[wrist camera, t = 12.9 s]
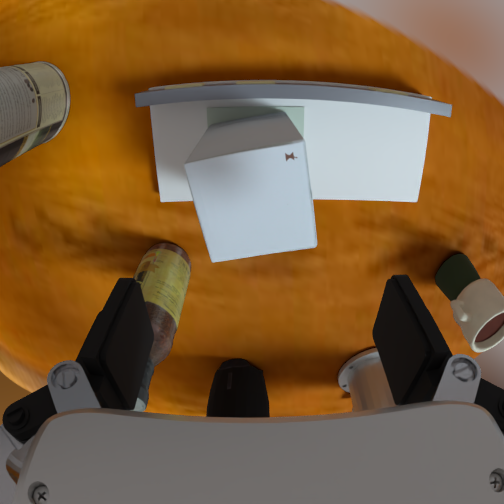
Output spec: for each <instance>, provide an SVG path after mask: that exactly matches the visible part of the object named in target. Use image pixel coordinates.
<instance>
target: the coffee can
mask: <svg viewBox="0 0 504 504" xmlns="http://www.w3.org/2000/svg"><path fill="white" fill-rule="evenodd" d="M69 108H70V91H69V86H68V83H67V80H66V79H65V76H64V75H63V73H62V72H61V71H60V70H59V69H58V68H57V67H56V66H55V65H53V64H51V63H49V62H34V63H28V64H20V65H13V66H5V67H0V167H1V166H2V165H4V164H6V163H7V162H9V161H11V160H13V159H14V158H16V157H18V156H20V155H21V154H23V153H25V152H27V151H29V150H31V149H33V148H34V147H36V146H38V145H40V144H42V143H46V142H48V141H50V140H51V139H53V138H54V137H55V136H56V135H57V134H58V133H59V132H60V130H61V129H62V127H63V126H64V124H65V122H66V119H67V117H68V113H69Z"/></svg>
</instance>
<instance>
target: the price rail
mask: <svg viewBox="0 0 504 504" xmlns="http://www.w3.org/2000/svg"><path fill="white" fill-rule="evenodd" d="M261 98H271V99H310V100H328V101H342V102H353V103H363V104H372V105H381V106H389V107H396V108H403V109H409V110H415V111H421V112H427V113H433V114H438V115H443V116H448V117H451V110H452V105H450V104H447V103H444V102H440V101H437V100H433V99H429V98H424V97H419V96H413V95H408V94H407V93H403V92H399V91H393V90H386V89H379V88H371V87H369V88H368V89H366V88H357V87H347V86H336V85H322V84H305V83H275V81H237V82H236V83H224V84H206V85H205V83H196V84H184V85H174V86H168V87H165V88H163V89H154V90H148V91H144V92H140V93H136V94H135V103H136V107H142V106H150V105H158V104H168V103H178V102H190V101H203V100H222V99H261Z"/></svg>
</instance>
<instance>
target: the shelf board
mask: <svg viewBox="0 0 504 504" xmlns="http://www.w3.org/2000/svg"><path fill="white" fill-rule="evenodd" d="M237 81H275V83H305V84H322V85H336V86H347V87H357V88H366V89H368V88H369V87H370V86H362V85H353V84H342V83H331V82H316V81H295V80H233V81H212V82H198V83H205V85H206V84H224V83H236V82H237ZM186 84H196V83H186ZM176 85H184V84H176ZM168 86H174V85H166V86H158V87H152V88H149V90H154V89H163V88H165V87H168ZM371 88H378V87H371ZM379 89H385V88H379ZM386 90H392V89H386ZM393 91H398V90H393ZM399 92H403V93H407V94H408V95H413V96H419V97H424V98H429V99H432V97H429V96H425V95H421V94H415V93H410V92H404V91H399ZM150 111H151V123H152V133H153V142H154V152H155V160H156V169H157V177H158V184H159V192H160V199H161V202H173V201H193V198H192V195H191V191H190V188H189V184H188V180H187V176H186V172H185V168H184V163H185V162H186V160H187V159H188V157H189V156H190V154H191V153H192V151H193V150H194V148H195V147H196V145H197V144H198V142H199V141H200V139H201V138H202V136H203V135H204V133H205V132H206V130H207V129H208V127H209V126H210V125H211V124H215V123H220V122H225V121H230V120H235V119H241V118H247V117H252V116H258V115H265V114H271V113H277V112H284V111H285V112H286V114H287V115H288V117H289V118H290V119H291V121H292V122H293V124H294V125H295V127H296V128H297V130H298V131H299V132H300V134H301V135H302V137H303V138H304V140H305V142H306V151H307V158H308V166H309V174H310V182H311V189H312V197H313V199H338V200H376V201H402V202H417V200H418V195H419V189H420V184H421V178H422V172H423V166H424V160H425V153H426V146H427V138H428V130H429V122H430V113H427V112H421V111H415V110H409V109H403V108H396V107H389V106H381V105H372V104H363V103H353V102H342V101H328V100H310V99H271V98H261V99H222V100H203V101H190V102H178V103H168V104H158V105H150Z"/></svg>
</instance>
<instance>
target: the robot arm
mask: <svg viewBox="0 0 504 504" xmlns="http://www.w3.org/2000/svg"><path fill="white" fill-rule="evenodd" d="M373 339H374V342H375V345H376V348H372V349H369V350H366V351H364V352H361V353H359V354H357V355H356V356H354V357H352V358H351V359H350V360H348V361H347V362H346V363H345V364H344V365H343V366H342V368H341V369H340V371H339V373H338V383H339V385H340V387H341V388H342V389H343V390H344V391H346V392H349V393H350V395H351V399H352V404H353V408H352V411H353V412H348V413H338V414H326V415H313V416H296V417H268V418H230V417H201V416H184V415H171V414H159V413H148V412H138V411H130V410H134V408H135V405H136V402H137V398H138V394H139V390H140V387H141V383H142V379H143V376H144V372H145V369H146V365H147V362H148V358H149V355H150V351H151V348H152V345H153V341H154V332H153V328H152V325H151V322H150V318H149V315H148V311H147V308H146V304H145V300H144V297H143V293H142V289H141V285H140V283H139V282H136V280H135V279H134V278H119V279H118V281H117V283H116V285H115V287H114V289H113V290H112V292H111V294H110V296H109V298H108V300H107V302H106V304H105V306H104V308H103V310H102V311H100V312H99V314H98V315H97V317H96V319H95V321H94V323H93V325H92V327H91V329H90V331H89V333H88V335H87V338H86V340H85V342H84V344H83V346H82V348H81V350H80V352H79V354H78V357H77V359H76V361H71V360H69V361H63V362H60V363H58V364H57V365H55V366H54V367H53V368H52V369H51V370H50V372H49V374H48V378H47V383H48V385H46V386H44V387H42V388H40V389H39V390H37V391H35V392H33V393H31V394H29V395H27V396H26V397H24V398H22V399H20V400H18V401H16V402H14V403H13V404H11V405H10V406H9V407H8V408H7V409H6V410H5V412H4V415H3V424H2V425H1V426H0V504H504V390H503V389H501V388H499V387H497V386H495V385H493V384H491V383H490V382H488V381H486V380H484V379H482V378H481V370H480V367H479V365H478V364H477V362H476V361H475V360H474V359H473V358H471V357H469V356H467V355H463V354H457V355H454V356H453V355H452V353H451V351H450V349H449V347H448V345H447V343H446V341H445V340H444V338H443V336H442V334H441V332H440V330H439V328H438V326H437V325H436V323H435V321H434V319H433V317H432V316H431V314H430V312H429V310H428V309H427V307H426V306H425V304H424V302H423V300H422V299H421V297H420V295H419V294H418V292H417V290H416V289H415V287H414V285H413V283H412V282H411V280H410V279H409V277H408V276H407V275H393V276H392V277H391V279H388V280H387V282H386V286H385V290H384V293H383V297H382V301H381V304H380V308H379V311H378V314H377V318H376V321H375V324H374V327H373Z"/></svg>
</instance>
